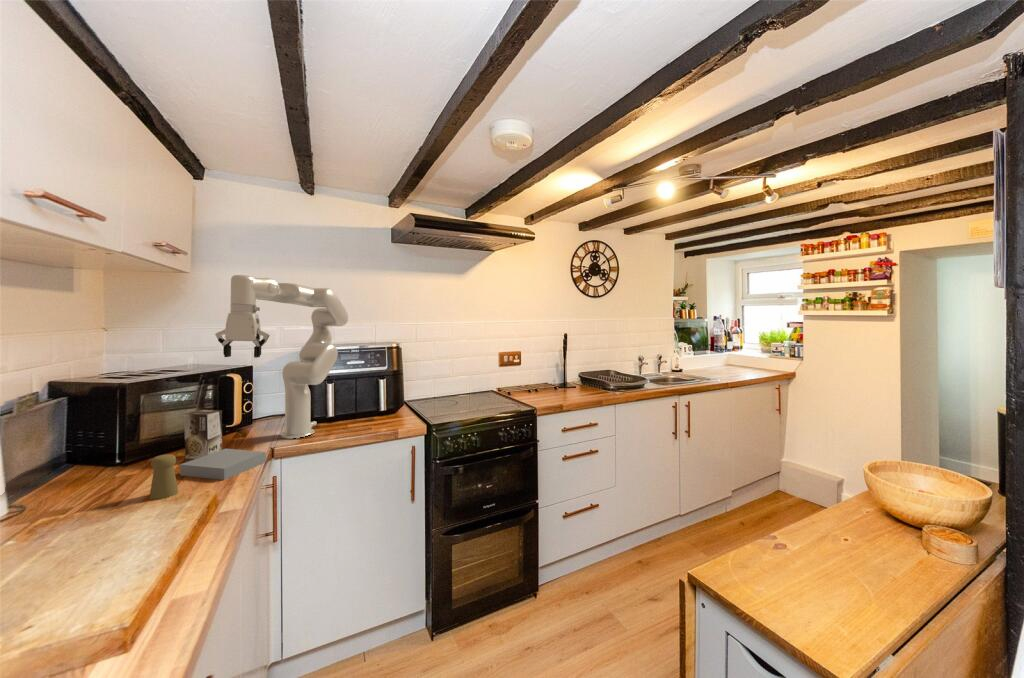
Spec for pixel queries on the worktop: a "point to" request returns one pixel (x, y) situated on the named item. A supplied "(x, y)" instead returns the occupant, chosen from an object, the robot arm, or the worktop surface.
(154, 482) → the olive pepper mill
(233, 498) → the worktop surface
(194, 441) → the coffee box
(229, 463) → the podium
